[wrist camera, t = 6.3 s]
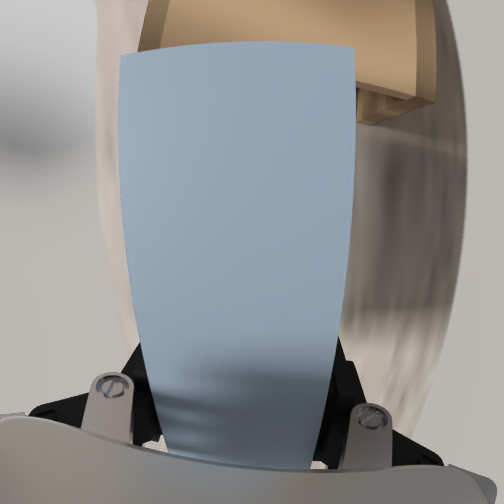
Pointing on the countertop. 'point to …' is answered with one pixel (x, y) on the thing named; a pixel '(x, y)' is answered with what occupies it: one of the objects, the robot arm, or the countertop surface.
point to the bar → (238, 238)
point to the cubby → (320, 39)
